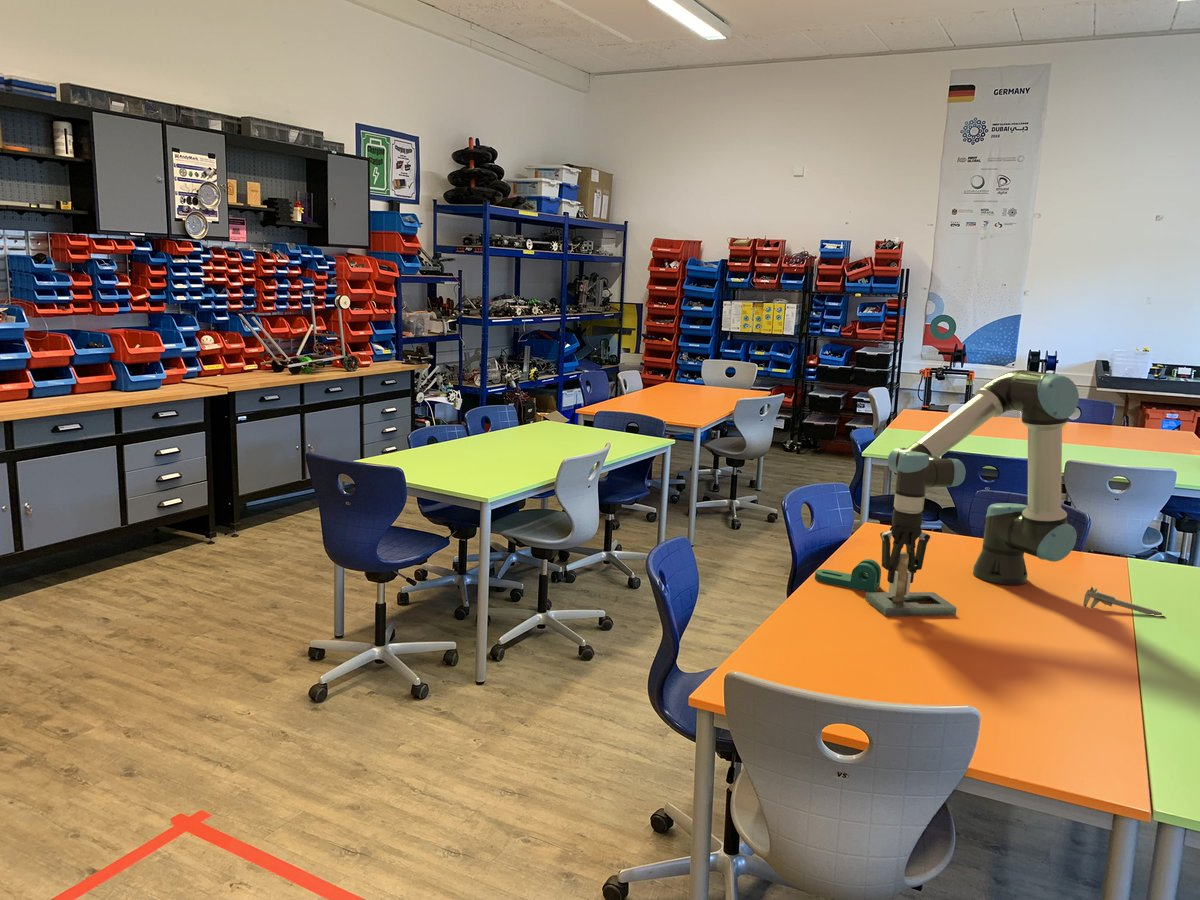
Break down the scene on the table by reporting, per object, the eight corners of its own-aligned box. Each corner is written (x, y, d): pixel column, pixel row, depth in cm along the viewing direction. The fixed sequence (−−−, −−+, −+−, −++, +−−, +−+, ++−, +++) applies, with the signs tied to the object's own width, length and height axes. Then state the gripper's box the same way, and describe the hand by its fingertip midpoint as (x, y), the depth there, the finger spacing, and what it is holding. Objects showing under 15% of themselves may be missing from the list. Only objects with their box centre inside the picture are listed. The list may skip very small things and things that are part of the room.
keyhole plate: (933, 599, 246) (933, 592, 245) (955, 615, 234) (956, 607, 234) (865, 600, 243) (866, 592, 242) (885, 616, 231) (885, 608, 231)
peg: (901, 603, 240) (907, 550, 238) (909, 609, 236) (916, 555, 233) (884, 603, 240) (890, 550, 237) (893, 609, 235) (899, 555, 232)
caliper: (1083, 608, 245) (1087, 586, 244) (1082, 606, 246) (1086, 585, 245) (1166, 618, 240) (1170, 597, 239) (1165, 617, 241) (1168, 595, 240)
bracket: (879, 587, 255) (882, 561, 253) (873, 593, 249) (876, 567, 247) (818, 575, 264) (821, 549, 262) (811, 580, 258) (814, 555, 256)
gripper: (929, 506, 238) (919, 589, 242) (873, 506, 235) (864, 589, 240) (943, 513, 230) (933, 598, 235) (886, 513, 228) (876, 599, 232)
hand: (898, 593), depth 237 cm, fingers closed on peg, 3 cm apart
